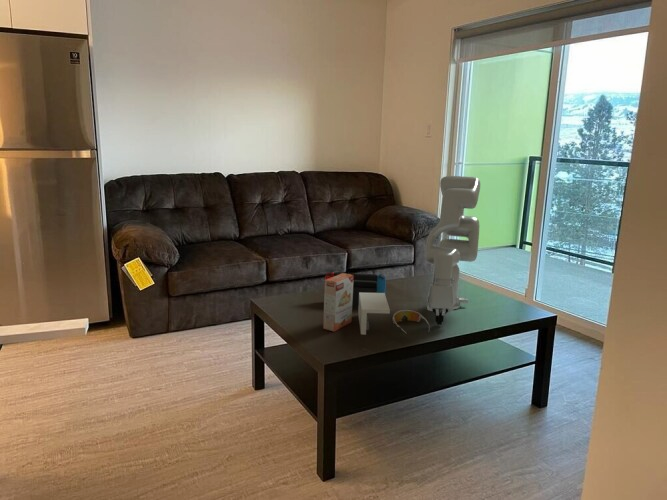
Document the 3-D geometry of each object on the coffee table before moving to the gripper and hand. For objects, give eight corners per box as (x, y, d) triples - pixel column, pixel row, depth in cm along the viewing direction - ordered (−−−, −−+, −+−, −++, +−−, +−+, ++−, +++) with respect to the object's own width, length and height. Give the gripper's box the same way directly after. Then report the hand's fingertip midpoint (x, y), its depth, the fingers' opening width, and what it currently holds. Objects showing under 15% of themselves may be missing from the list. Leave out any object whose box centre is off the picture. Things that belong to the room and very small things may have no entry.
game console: (384, 303, 247) (386, 273, 244) (384, 308, 241) (385, 277, 238) (325, 300, 250) (326, 270, 247) (323, 304, 244) (324, 274, 241)
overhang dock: (383, 315, 230) (384, 293, 228) (388, 335, 209) (389, 309, 207) (358, 315, 230) (359, 292, 228) (360, 334, 209) (361, 309, 207)
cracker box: (335, 332, 210) (336, 282, 206) (322, 329, 213) (323, 279, 209) (352, 322, 222) (354, 274, 217) (340, 319, 225) (341, 272, 220)
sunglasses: (418, 318, 229) (419, 308, 227) (433, 336, 215) (434, 325, 213) (387, 321, 225) (388, 310, 223) (400, 339, 211) (402, 328, 210)
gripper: (458, 279, 219) (454, 320, 223) (422, 278, 219) (419, 320, 223) (462, 284, 212) (459, 327, 216) (425, 283, 212) (422, 326, 216)
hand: (439, 323), depth 220 cm, fingers closed
